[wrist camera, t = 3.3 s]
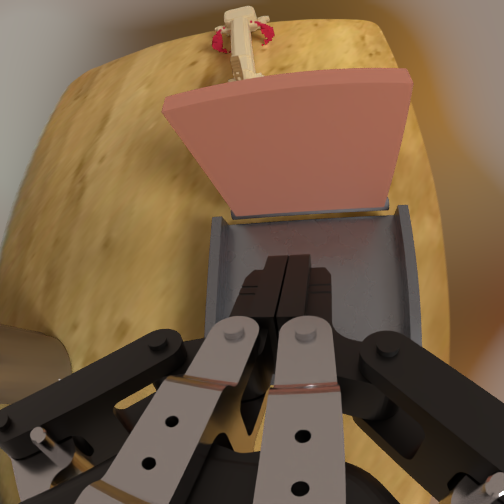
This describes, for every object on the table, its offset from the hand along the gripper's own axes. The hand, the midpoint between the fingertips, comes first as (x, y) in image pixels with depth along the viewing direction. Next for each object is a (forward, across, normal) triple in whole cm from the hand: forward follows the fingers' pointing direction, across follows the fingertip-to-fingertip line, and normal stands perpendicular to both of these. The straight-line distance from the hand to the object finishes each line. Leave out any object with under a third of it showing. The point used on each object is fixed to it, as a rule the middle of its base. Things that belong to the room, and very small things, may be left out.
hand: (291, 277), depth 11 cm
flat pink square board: (+16, 0, +3) cm, 17 cm away
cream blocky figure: (+40, +8, -15) cm, 44 cm away
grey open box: (+14, 0, +11) cm, 18 cm away
